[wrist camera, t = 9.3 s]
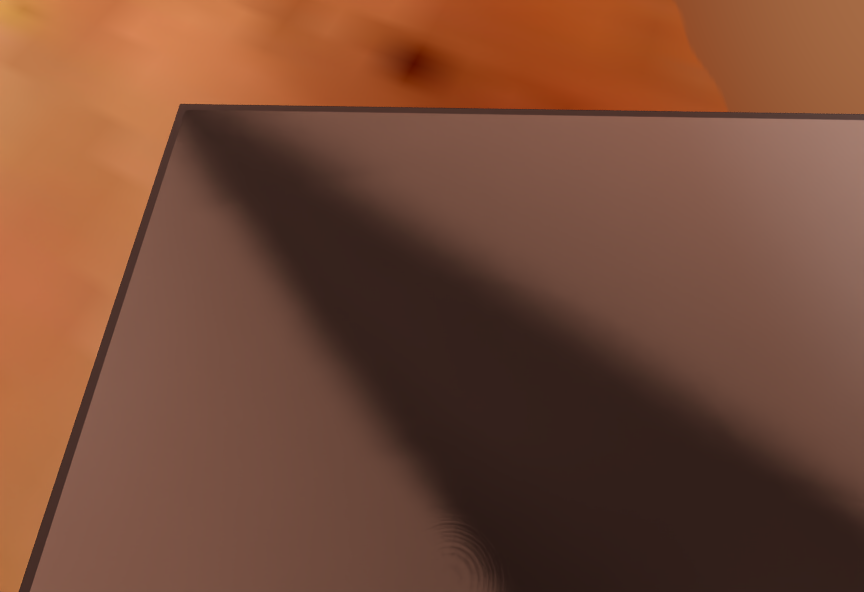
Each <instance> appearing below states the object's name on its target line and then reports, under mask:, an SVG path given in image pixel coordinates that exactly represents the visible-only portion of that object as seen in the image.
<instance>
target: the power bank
mask: <svg viewBox="0 0 864 592" xmlns="http://www.w3.org/2000/svg"><path fill="white" fill-rule="evenodd" d="M19 592H864V114H811V113H746V112H745V113H744V112H742V113H741V112H739V113H738V112H679V111H612V110H545V109H479V108H412V107H345V106H279V105H212V104H180V106H179V109H178V112H177V115H176V118H175V121H174V124H173V127H172V130H171V133H170V136H169V139H168V142H167V145H166V148H165V151H164V154H163V157H162V160H161V163H160V166H159V169H158V172H157V175H156V179H155V182H154V185H153V188H152V191H151V194H150V197H149V200H148V203H147V206H146V209H145V212H144V215H143V218H142V221H141V224H140V227H139V230H138V233H137V236H136V239H135V242H134V245H133V248H132V251H131V254H130V257H129V260H128V263H127V266H126V269H125V272H124V275H123V278H122V281H121V284H120V287H119V290H118V293H117V296H116V299H115V302H114V305H113V308H112V311H111V315H110V318H109V321H108V324H107V327H106V330H105V333H104V336H103V339H102V342H101V345H100V348H99V351H98V354H97V357H96V360H95V363H94V366H93V369H92V372H91V375H90V378H89V381H88V384H87V387H86V390H85V393H84V396H83V399H82V402H81V405H80V408H79V411H78V414H77V417H76V420H75V423H74V426H73V429H72V432H71V435H70V438H69V441H68V444H67V448H66V451H65V454H64V457H63V460H62V463H61V466H60V469H59V472H58V475H57V478H56V481H55V484H54V487H53V490H52V493H51V496H50V499H49V502H48V505H47V508H46V511H45V514H44V517H43V520H42V523H41V526H40V529H39V532H38V535H37V538H36V541H35V544H34V547H33V550H32V553H31V556H30V559H29V562H28V565H27V568H26V571H25V574H24V577H23V581H22V584H21V587H20V590H19Z"/></svg>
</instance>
